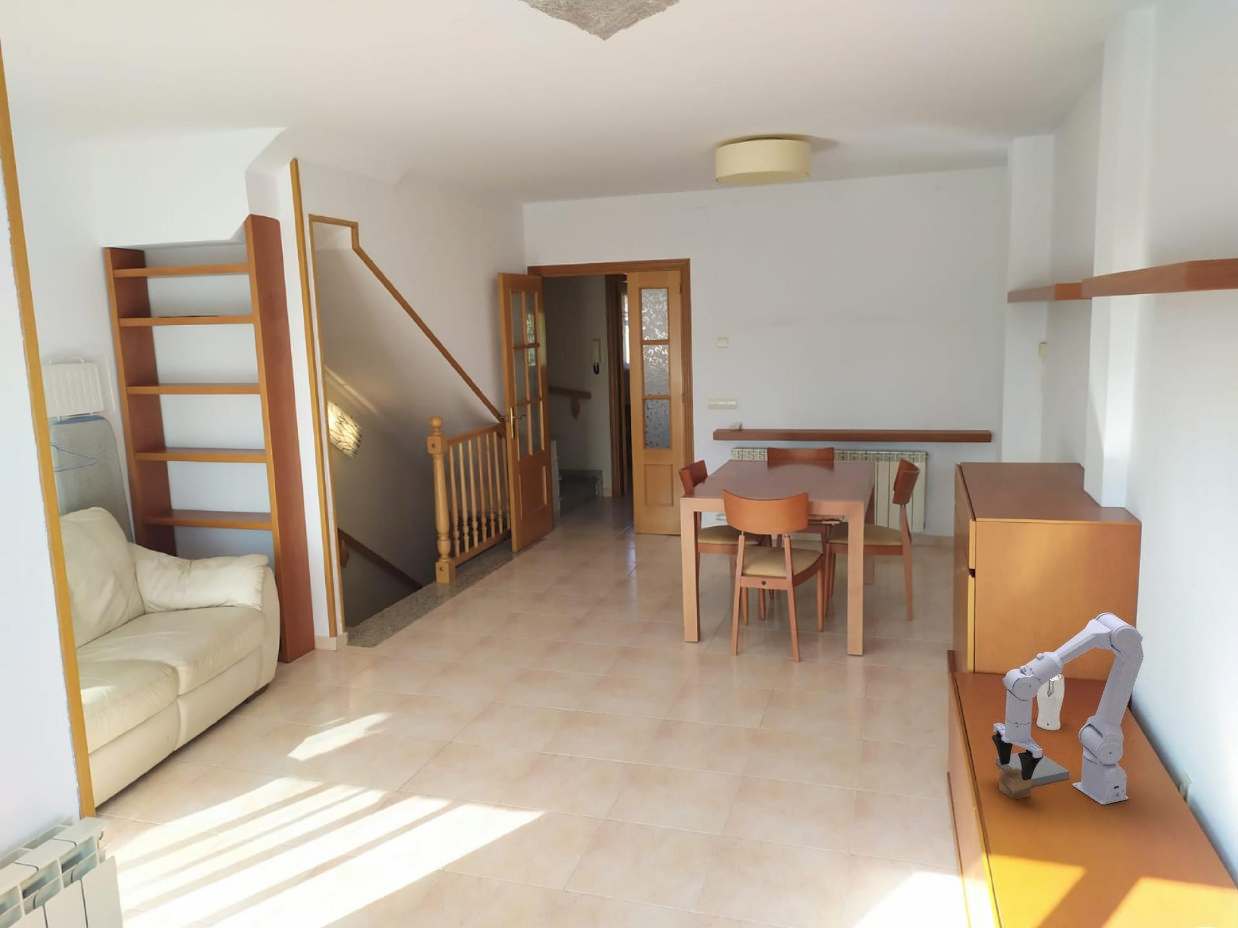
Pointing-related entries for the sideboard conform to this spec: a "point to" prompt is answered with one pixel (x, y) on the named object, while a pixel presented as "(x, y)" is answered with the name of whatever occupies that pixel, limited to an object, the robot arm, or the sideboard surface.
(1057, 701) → the beer glass
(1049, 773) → the gray slab
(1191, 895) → the sideboard surface
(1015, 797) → the walnut block
